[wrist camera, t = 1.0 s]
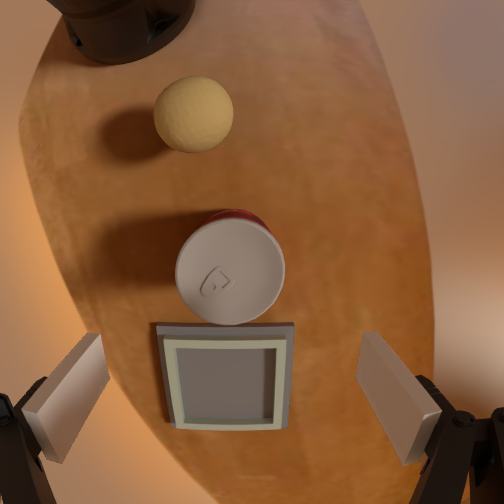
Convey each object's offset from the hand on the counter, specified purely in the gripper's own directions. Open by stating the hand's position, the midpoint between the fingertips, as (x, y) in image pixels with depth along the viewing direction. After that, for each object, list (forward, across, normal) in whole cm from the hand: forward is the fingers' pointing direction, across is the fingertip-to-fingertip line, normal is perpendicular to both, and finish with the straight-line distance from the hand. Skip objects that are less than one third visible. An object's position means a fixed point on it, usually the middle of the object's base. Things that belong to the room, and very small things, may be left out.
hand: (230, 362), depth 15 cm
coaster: (+19, -1, -14) cm, 24 cm away
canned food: (+19, 0, +2) cm, 19 cm away
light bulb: (+20, -3, +14) cm, 24 cm away
